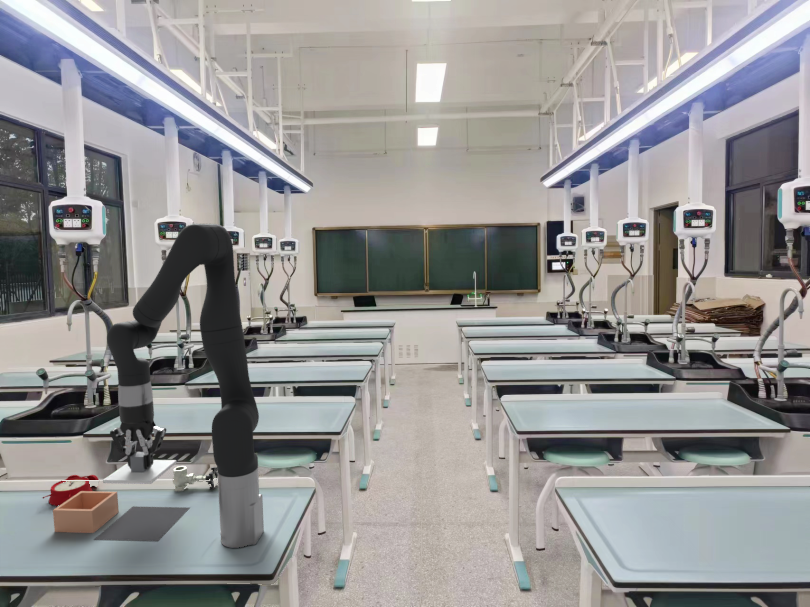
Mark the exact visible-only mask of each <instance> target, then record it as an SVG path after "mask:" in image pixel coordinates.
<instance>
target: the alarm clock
mask: <svg viewBox="0 0 810 607" xmlns="http://www.w3.org/2000/svg"><path fill="white" fill-rule="evenodd" d="M64 480H99V477H98V476H97V475H95V474H90V475H84V476H80V475H78V474H72V475H70V476H68V477H66V479H64ZM99 481H100V480H99ZM63 482H64V483H63ZM80 491H93V488H92V487H90V484H89V481H67V482H66V481H62V480H59V481H58V482H56V483H54V484H52V485H51V487H50V494H48V495H46V496H43V497H42V499H45V498H47V497H49V499H48V503H49V505H52V506H58V505H59V506H60V505H61V504H63V503H64V502H66V501H67V500H69V499H70V498H71V497H73V496H74V495H76V494H77V493H79V492H80Z"/></svg>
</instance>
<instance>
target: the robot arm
mask: <svg viewBox="0 0 810 607" xmlns="http://www.w3.org/2000/svg"><path fill="white" fill-rule="evenodd" d="M234 260H235V258H234V247H233V241H232V237H231V235H230V233H229V231H228V230H227V229H226V228H225V226H223V225H220V224H217V223H190V224H188V225H186V226H184V227H183V228H182V229H181V230H180V232H179V233H178V234H177V236H176V238H175V240H174V242H173V244H172V246H171V248H170V250H169V252H168V254H167V256H166V257H165V260H164V262H163V263H162V265H161V268H160V269H159V271H158V273H157V274H156V276H155V278H154V280H153V281H152V283H151V284H150V285H149V286H148V288H147V289H146V290H145V292H144V293H143V294H142V295H141V297H140V298H139V299H138V301H137V302H136V304H135V305H134V306H133V308H132V316H133V318H134V319H133V320H127V321H122V322H117V323H115V324H112V325H111V326H110V328H109V329H108V332H107V336H106V340H107V341H106V343H107V346H108V349H109V351H110V353H111V357H112V359H113V362H114V364H115V367H116V369H117V381H118V391H117V394H118V395H117V396H118V397H117V398H118V409H119V410H118V411H119V413H118V414H119V421H120V422H121V423H120V426H119V427H115V428H113V429H112V430H110V432H109V435H110V437H111V438H112V441H113V442H114V444H115V446H116V449H117V451H118V452H119V453H120V454H121V453H125V455H127V456H126V457H127V463H128V466H129V467H130V469H131V462H130V457H131V456H132V455H134V454H135V453H137V452H138V451H136V449H137V444H138V442H139V445H140V447H141V448H142V452H144V454H145V455H143V456H144V466H145V469H149V468H150V467H151V466H152V465H153V460H154V453H156V452H157V451H159V450H160V449H161V447H162V444H163V442H164V441H163V440H164V438H165V435H166V433H167V428H166V427H162V428H160V427H159V426H156V422H155V421H154V418H155V411H154V394H153V388H152V387H153V386H152V382H151V371H150V370H151V368H150V362H149V360H148V359H146V358H143V357H137V355H136V353H135V350H137V349H140V348H145V347H147V346H148V345H149V346H150V345H151V343H152V342H154V340H155V339H156V337H157V336H158V333H159V330H160V328H161V325H162V323H163V321H164V320H165V318H167V316H168V315H169V313H171V311H172V310H173V309H174V307H175V305H176V304H177V303H178V301H179V299H180V293H181V288H182V285H183V283H184V281H185V280H186V279H187V277H188V276H189V275H190V274H191V273H192V272H193V271H194V270H195V269H197V268H198V267H199V266H204V271H205V277H206V292H205V296H204V300H203V304H202V308H201V312H200V318H199V330H200V335H201V342H202V347H203V350H204V351H203V352H204V354H205V356H206V359H207V361H208V362H209V365H210V367H211V369H212V370H213V373H214V375H215V377H216V378H217V382H218V387H219V394H220V402H221V404H220V405H221V408H220V410H219V411H218V412H217V413H216V414H215V416H214V417H213V419H212V422H211V423H212V424H211V442H212V452H213V453H212V454H213V461H214V463H215V464H216V467H217V472H218V476H217V479H218V483H217V488H218V490H217V491H218V507H219V508H218V509H219V510H218V511H219V528H220V530H219V531H220V533H219V534H220V542H221V544H222V545H223V546H225V547H226V548H230V549H231V548H233V549H237V548H238V549H239V547H240V548H244V546H245V547H248V546H250V545H252V546H253V545H257V543H258V541H259V539H260V538H261V536H263V534H264V531H265V527H264V526H265V525H264V502H263V500H264V499H263V494H260V484H259V482H260V480H259V458H258V455H257V453H255V447H254V446H255V445H254V431H255V430H256V428H257V427H258V424H259V418H260V416H259V415H260V414H259V410H258V406H257V402H256V398H255V395H254V392H253V388H252V385H251V380H250V374H249V366H248V358H247V350H246V343H245V342H246V341H245V335H244V330H243V329H244V328H243V323H242V322H243V321H242V319H241V313H240V307H239V300H238V294H237V293H238V292H237V286H236V277H235V276H236V274H235V263H234V262H235V261H234ZM152 434H153V435H152ZM152 436H153V437H154V439H153V437H152ZM247 545H248V546H247Z"/></svg>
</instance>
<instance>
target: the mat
mask: <svg viewBox="0 0 810 607" xmlns="http://www.w3.org/2000/svg"><path fill="white" fill-rule="evenodd" d="M190 508H191V507H187V506H186V507H184V506H183V507H180V506H179V507H177V506H174V507H173V506H135V505H134V506H131V507H130V508H129V509H128V510H127V511H125V512H124V513H123V514H122V515H120V516H119V518H117V519H116V520H115V521H113V523H112V524H110V525H109V526H107V528H105V529H104V530H103V531H102V532H101V533H100V534H98V535H97V536H96V537H95V538H93V541H116V542H117V541H122V542H125V541H126V542H129V541H130V542H132V541H133V542H159V541H160V540H162V539H163V537H164V536H165V535H166V534H167V533H168V532H169V531H170V530H171V529H172V528H173V527H174V526H175V524H177V522H178V521H179V520H180V519H181V518H182V517H183V516H184V515H185V514H186V513H187V512H188V511H189V510H190Z"/></svg>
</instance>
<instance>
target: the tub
mask: <svg viewBox="0 0 810 607" xmlns="http://www.w3.org/2000/svg"><path fill="white" fill-rule="evenodd" d="M118 497H119V496H118V491H94V490H92V491H80V492H79V493H77V494H76V495H74V496H73V497H71V498H70V499H69V500H67V501H66V502H64V503H63V504H61V505H60V506H58V507H55V508H54V509H53V510H52V516H53V517H52V518H53V528H54V533H77V534H79V533H84V534H85V533H86V534H87V533H88V534H94V533H96V531H98V530H99V529H100V528H102V527H103V526H104V525H105V524H106V523H107V522H109V521H110V520H111V519H113V517H115V516H116V515H117V514H118V513H120V511H119V498H118Z"/></svg>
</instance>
